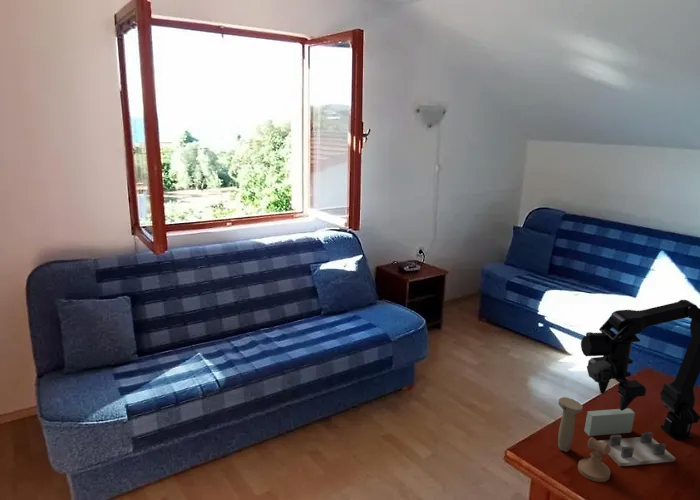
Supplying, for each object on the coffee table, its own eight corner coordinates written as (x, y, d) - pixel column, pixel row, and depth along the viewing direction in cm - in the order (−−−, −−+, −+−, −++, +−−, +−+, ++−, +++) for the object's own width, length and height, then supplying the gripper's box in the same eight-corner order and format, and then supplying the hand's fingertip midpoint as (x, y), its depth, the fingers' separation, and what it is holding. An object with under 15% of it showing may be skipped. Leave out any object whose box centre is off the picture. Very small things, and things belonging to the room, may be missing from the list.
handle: (568, 457, 146) (575, 411, 142) (548, 445, 152) (555, 400, 148) (578, 452, 149) (586, 406, 145) (559, 440, 154) (566, 395, 150)
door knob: (589, 427, 144) (619, 440, 139) (583, 457, 147) (613, 471, 142) (578, 440, 138) (609, 454, 133) (573, 471, 141) (604, 486, 136)
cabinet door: (625, 428, 161) (629, 408, 159) (631, 432, 159) (635, 412, 157) (584, 431, 159) (587, 411, 157) (588, 436, 157) (592, 416, 155)
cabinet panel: (650, 439, 155) (652, 427, 154) (674, 461, 146) (677, 449, 145) (598, 443, 153) (600, 431, 152) (619, 466, 143) (622, 454, 142)
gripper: (574, 342, 158) (569, 387, 162) (614, 372, 140) (607, 422, 145) (608, 339, 160) (601, 384, 164) (651, 368, 142) (643, 418, 146)
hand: (611, 401), depth 155 cm, fingers open, 9 cm apart
